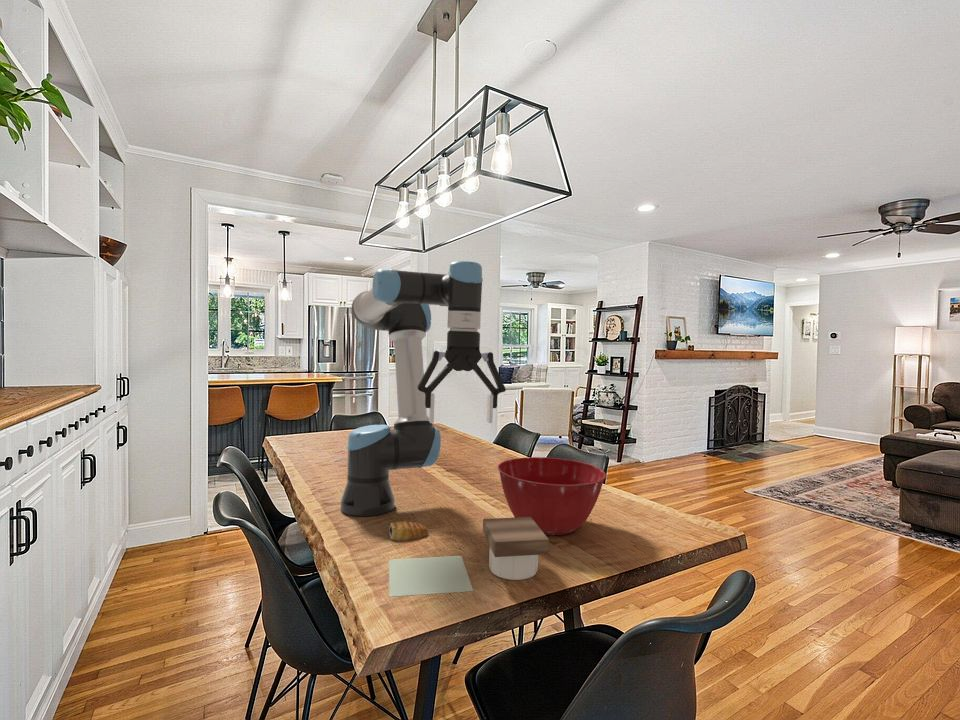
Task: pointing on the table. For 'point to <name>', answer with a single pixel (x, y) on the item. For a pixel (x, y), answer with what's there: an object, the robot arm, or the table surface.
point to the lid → (515, 537)
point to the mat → (428, 576)
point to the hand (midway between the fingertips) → (460, 422)
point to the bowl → (513, 566)
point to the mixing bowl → (551, 491)
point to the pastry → (406, 531)
